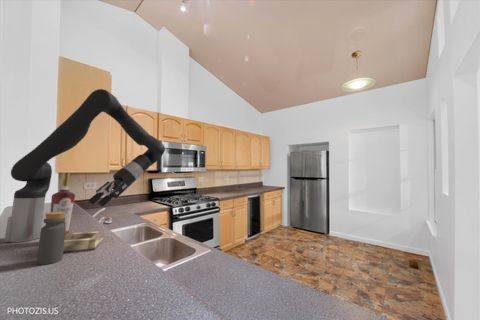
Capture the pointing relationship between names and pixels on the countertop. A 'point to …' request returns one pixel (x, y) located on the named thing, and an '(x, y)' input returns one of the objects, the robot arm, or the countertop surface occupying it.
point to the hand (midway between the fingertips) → (94, 203)
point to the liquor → (64, 201)
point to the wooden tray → (82, 241)
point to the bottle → (52, 239)
